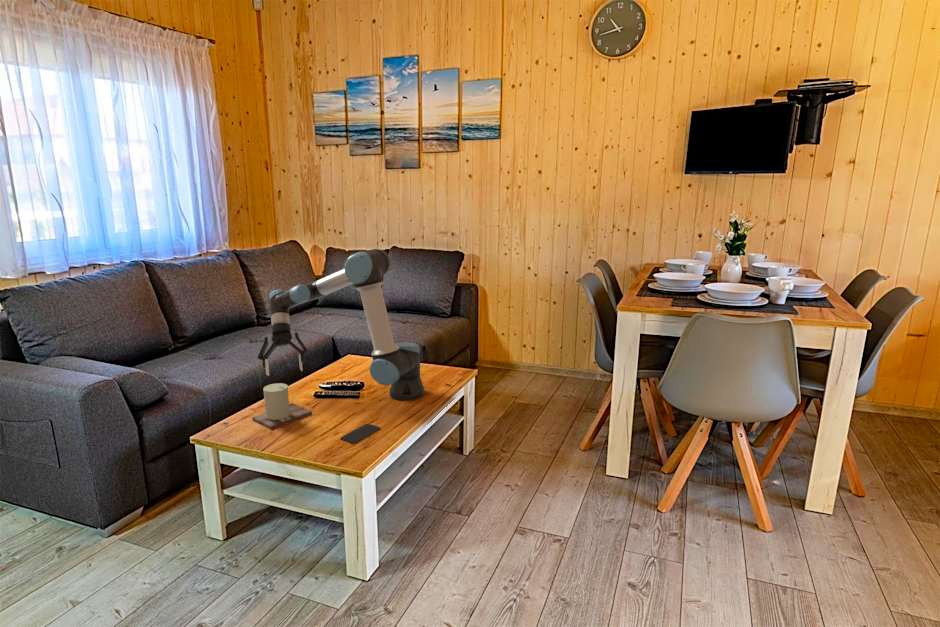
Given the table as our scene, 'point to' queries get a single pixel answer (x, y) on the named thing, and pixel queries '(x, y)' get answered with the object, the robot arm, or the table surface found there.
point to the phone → (360, 433)
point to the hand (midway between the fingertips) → (284, 372)
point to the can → (276, 401)
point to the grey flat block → (295, 414)
